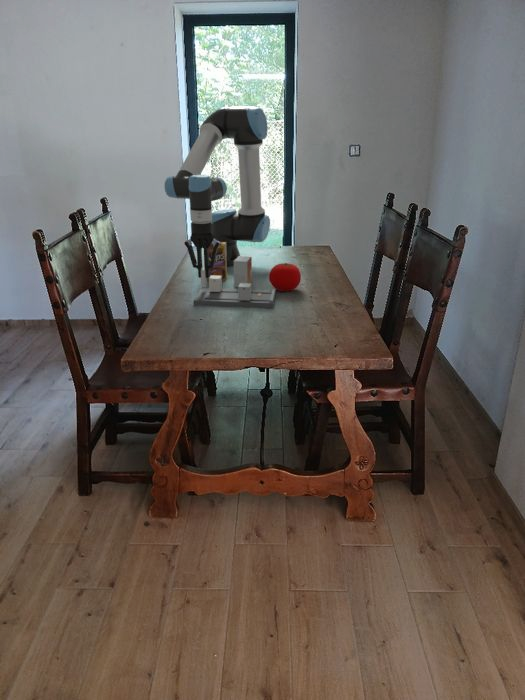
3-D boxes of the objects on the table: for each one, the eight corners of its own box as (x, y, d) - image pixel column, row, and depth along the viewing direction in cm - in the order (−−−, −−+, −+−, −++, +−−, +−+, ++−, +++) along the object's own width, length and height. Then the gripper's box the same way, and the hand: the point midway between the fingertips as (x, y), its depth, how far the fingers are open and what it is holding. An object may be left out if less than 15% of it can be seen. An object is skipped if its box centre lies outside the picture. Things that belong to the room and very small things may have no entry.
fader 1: (211, 288, 194) (211, 275, 192) (222, 288, 194) (221, 275, 192) (209, 291, 190) (208, 278, 188) (220, 292, 190) (219, 278, 188)
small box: (247, 288, 203) (247, 261, 199) (233, 287, 204) (233, 260, 200) (252, 282, 210) (251, 256, 206) (238, 281, 211) (238, 255, 207)
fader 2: (240, 296, 185) (239, 283, 183) (251, 296, 185) (251, 283, 183) (238, 300, 182) (238, 286, 180) (249, 300, 181) (249, 286, 179)
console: (201, 293, 196) (201, 285, 195) (275, 295, 194) (275, 288, 193) (193, 305, 184) (193, 297, 182) (272, 308, 181) (272, 300, 180)
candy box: (204, 280, 212) (202, 243, 205) (206, 277, 216) (204, 240, 209) (226, 280, 211) (225, 243, 205) (227, 277, 215) (226, 241, 209)
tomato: (295, 295, 194) (296, 268, 190) (265, 292, 198) (265, 265, 194) (304, 287, 204) (304, 261, 199) (274, 284, 208) (275, 258, 203)
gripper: (180, 223, 179) (184, 288, 189) (217, 224, 178) (219, 289, 188) (185, 219, 186) (189, 282, 196) (221, 220, 185) (223, 283, 195)
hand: (204, 286), depth 192 cm, fingers closed
